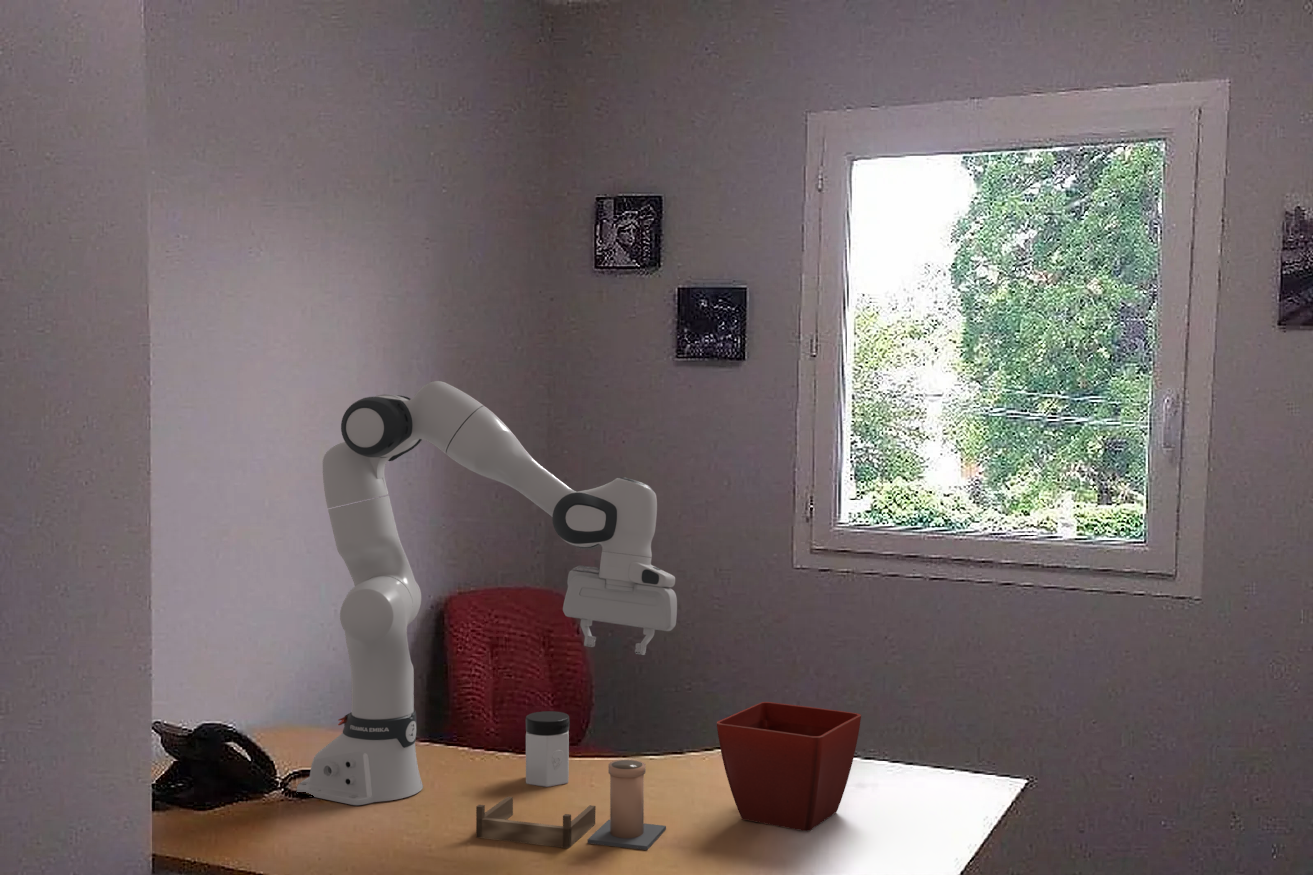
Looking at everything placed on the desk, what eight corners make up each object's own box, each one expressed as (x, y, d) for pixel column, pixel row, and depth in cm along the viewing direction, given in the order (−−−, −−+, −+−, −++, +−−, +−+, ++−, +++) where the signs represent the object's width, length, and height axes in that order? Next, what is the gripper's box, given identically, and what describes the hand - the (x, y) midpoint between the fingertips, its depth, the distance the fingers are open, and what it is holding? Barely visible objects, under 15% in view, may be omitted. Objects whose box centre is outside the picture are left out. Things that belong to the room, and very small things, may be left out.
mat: (587, 843, 190) (587, 839, 190) (608, 823, 200) (608, 819, 200) (647, 850, 187) (647, 846, 187) (665, 829, 197) (665, 825, 197)
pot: (603, 836, 192) (603, 767, 191) (615, 824, 197) (615, 757, 197) (638, 840, 190) (638, 771, 190) (650, 828, 195) (650, 761, 195)
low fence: (476, 837, 193) (476, 806, 193) (507, 814, 204) (507, 784, 204) (568, 848, 188) (568, 816, 188) (595, 823, 199) (595, 793, 199)
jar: (536, 790, 218) (536, 724, 218) (516, 778, 224) (516, 715, 224) (579, 781, 223) (579, 717, 222) (558, 771, 229) (558, 708, 229)
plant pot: (763, 792, 217) (763, 699, 217) (862, 810, 207) (863, 713, 207) (713, 822, 200) (713, 722, 200) (819, 843, 191) (819, 738, 190)
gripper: (563, 563, 210) (552, 642, 209) (674, 577, 204) (663, 659, 202) (576, 564, 216) (566, 641, 215) (684, 578, 210) (674, 658, 208)
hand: (614, 650), depth 209 cm, fingers open, 8 cm apart
